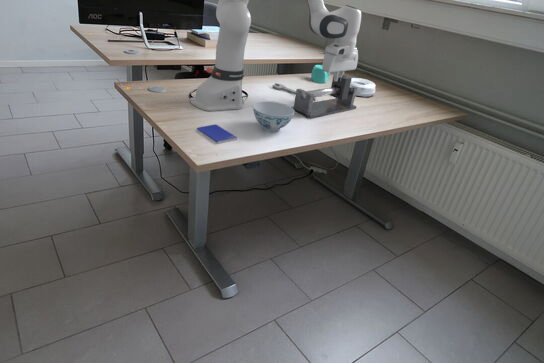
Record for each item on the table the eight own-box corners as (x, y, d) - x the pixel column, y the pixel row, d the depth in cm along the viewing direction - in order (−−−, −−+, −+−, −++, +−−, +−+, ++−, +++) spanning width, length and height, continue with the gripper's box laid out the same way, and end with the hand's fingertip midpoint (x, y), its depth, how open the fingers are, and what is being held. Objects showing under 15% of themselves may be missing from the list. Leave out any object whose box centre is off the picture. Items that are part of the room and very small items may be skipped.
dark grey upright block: (341, 100, 168) (346, 78, 163) (329, 95, 172) (333, 74, 167) (346, 99, 170) (351, 78, 166) (334, 94, 174) (339, 73, 170)
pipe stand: (310, 119, 154) (314, 96, 149) (289, 109, 161) (293, 87, 156) (355, 108, 175) (361, 88, 170) (335, 100, 182) (340, 80, 177)
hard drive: (237, 136, 127) (216, 123, 134) (217, 141, 122) (196, 127, 129) (237, 141, 127) (216, 128, 135) (217, 145, 122) (196, 131, 130)
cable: (373, 91, 207) (376, 80, 204) (374, 100, 192) (378, 88, 189) (341, 85, 209) (343, 74, 206) (340, 94, 194) (343, 82, 191)
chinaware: (243, 122, 141) (245, 103, 137) (275, 118, 149) (278, 100, 145) (265, 138, 131) (268, 117, 127) (299, 133, 139) (302, 113, 135)
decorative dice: (328, 81, 212) (330, 67, 208) (323, 84, 205) (326, 69, 201) (314, 78, 214) (317, 64, 210) (310, 81, 208) (312, 66, 204)
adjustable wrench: (316, 101, 178) (317, 98, 177) (308, 103, 174) (308, 100, 173) (278, 86, 192) (278, 82, 191) (269, 87, 188) (269, 84, 187)
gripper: (352, 45, 167) (345, 77, 174) (323, 47, 154) (316, 81, 160) (364, 49, 163) (356, 80, 170) (335, 50, 150) (328, 85, 157)
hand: (337, 81), depth 165 cm, fingers closed
